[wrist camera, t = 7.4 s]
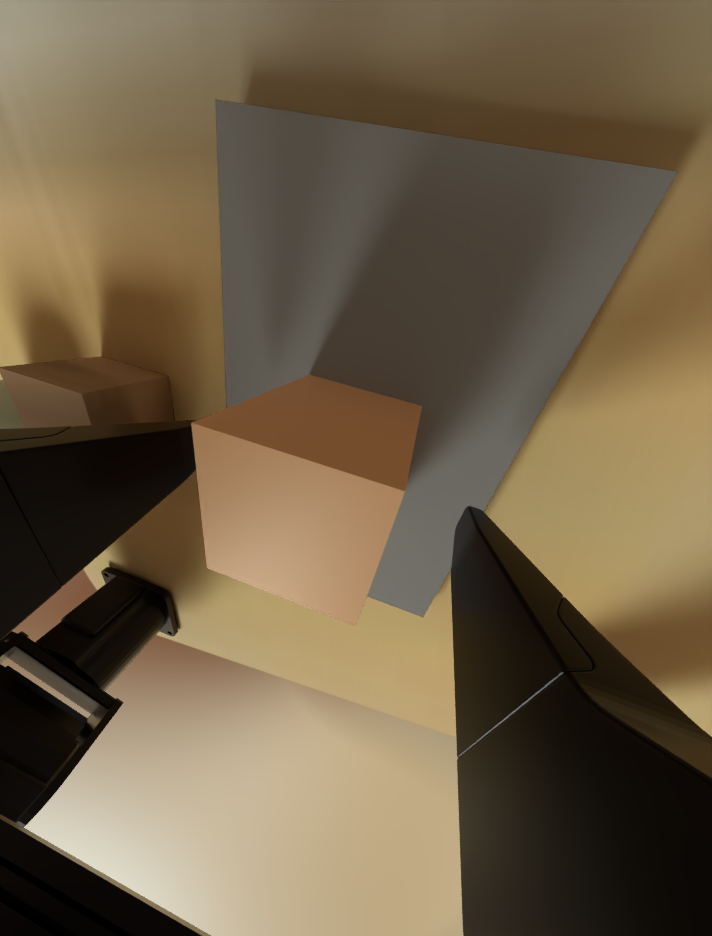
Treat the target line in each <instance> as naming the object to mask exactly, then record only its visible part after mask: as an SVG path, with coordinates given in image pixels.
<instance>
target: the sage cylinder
mask: <svg viewBox="0 0 712 936" xmlns="http://www.w3.org/2000/svg"><path fill="white" fill-rule="evenodd" d="M9 428H25V427H24V425H23V422H22V420H21V418H20V416H19V413H18V411H17V409H16V407H15V404H14V402H13V400H12V398H11V395H10V393H9V391H8V389H7V386H6V384H5V382H4V380H0V429H9Z"/></svg>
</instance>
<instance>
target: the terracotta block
mask: <svg viewBox="0 0 712 936" xmlns="http://www.w3.org/2000/svg"><path fill="white" fill-rule="evenodd" d="M421 409H422V406H420V405H417V404H413V403H409V402H406V401H402V400H399V399H395V398H392V397H388V396H384V395H381V394H377V393H374V392H370V391H366V390H363V389H359V388H356V387H352V386H349V385H345V384H341V383H338V382H334V381H331V380H327V379H323V378H320V377H316V376H313V375H307V376H304V377H302V378H299V379H297V380H295V381H292V382H290V383H287V384H285V385H282V386H280V387H277V388H275V389H272V390H270V391H268V392H265V393H263V394H260V395H258V396H255V397H253V398H250V399H248V400H246V401H243V402H241V403H238V404H236V405H233V406H231V407H228V408H226V409H224V410H221V411H219V412H216V413H214V414H211V415H209V416H206V417H204V418H202V419H199V420H197V421H194V422H192V423H191V426H192V435H193V444H194V453H195V463H196V472H197V481H198V490H199V499H200V509H201V518H202V527H203V536H204V546H205V555H206V564H207V568H208V569H211V570H213V571H216V572H218V573H221V574H223V575H226V576H228V577H231V578H233V579H236V580H239V581H241V582H244V583H246V584H249V585H251V586H254V587H256V588H259V589H261V590H264V591H267V592H269V593H272V594H274V595H277V596H279V597H282V598H284V599H287V600H289V601H292V602H295V603H297V604H300V605H302V606H305V607H307V608H310V609H312V610H315V611H317V612H320V613H323V614H325V615H328V616H330V617H333V618H335V619H338V620H340V621H343V622H345V623H348V624H351V625H353V626H356V625H357V622H358V620H359V617H360V614H361V611H362V609H363V606H364V603H365V600H366V598H367V595H368V592H369V589H370V587H371V584H372V581H373V578H374V576H375V573H376V570H377V567H378V565H379V562H380V559H381V556H382V554H383V551H384V548H385V545H386V543H387V540H388V537H389V534H390V532H391V529H392V526H393V523H394V521H395V518H396V515H397V512H398V510H399V507H400V504H401V501H402V499H403V496H404V493H405V490H406V485H407V480H408V475H409V469H410V464H411V459H412V454H413V449H414V444H415V439H416V434H417V429H418V424H419V419H420V414H421Z"/></svg>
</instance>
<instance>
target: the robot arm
mask: <svg viewBox="0 0 712 936" xmlns="http://www.w3.org/2000/svg"><path fill="white" fill-rule="evenodd" d="M194 421H197V420H190V421H169V422H148V423H127V424H106V425H85V426H73V427H71V426H64V427H40V428H9V429H0V936H211V935H209V934H207V933H205V932H204V931H202V930H200V929H198V928H197V927H195V926H193V925H191V924H190V923H188V922H186V921H185V920H183V919H181V918H179V917H178V916H176V915H174V914H172V913H171V912H169V911H167V910H166V909H164V908H162V907H160V906H159V905H157V904H155V903H153V902H152V901H150V900H148V899H146V898H145V897H143V896H141V895H139V894H138V893H136V892H134V891H132V890H131V889H129V888H127V887H126V886H124V885H122V884H120V883H119V882H117V881H115V880H114V879H112V878H110V877H108V876H107V875H105V874H103V873H101V872H100V871H98V870H96V869H94V868H93V867H91V866H89V865H88V864H86V863H84V862H82V861H81V860H79V859H77V858H75V857H74V856H72V855H70V854H68V853H67V852H65V851H63V850H61V849H60V848H58V847H56V846H55V845H53V844H51V843H49V842H48V841H46V840H44V839H42V838H41V837H39V836H37V835H35V834H34V833H32V832H30V831H29V830H27V829H25V828H23V827H24V826H26V824H28V822H29V821H30V820H31V819H32V818H33V817H34V816H35V815H36V814H37V813H38V812H39V811H40V810H41V809H42V807H43V806H44V805H45V804H46V803H47V801H48V800H49V799H50V798H51V797H52V796H53V794H54V793H55V792H56V791H57V790H58V788H59V787H60V786H61V785H62V784H63V782H64V781H65V780H66V778H67V777H68V776H69V774H70V773H71V772H72V770H73V769H74V768H75V766H76V765H77V764H78V762H79V761H80V760H81V758H82V757H83V756H84V754H85V753H86V752H87V750H88V749H89V748H90V747H91V745H92V744H93V743H94V741H95V740H96V739H97V737H98V736H99V734H100V733H101V732H102V731H103V729H104V728H105V726H106V725H107V724H108V723H109V721H110V720H111V719H112V717H113V716H114V715H115V713H116V712H117V711H118V709H119V708H120V706H121V705H122V704H123V702H122V701H121V700H119V699H118V698H117V699H115V698H113V697H112V696H110V695H109V694H107V693H106V692H105V691H106V689H107V688H108V687H109V686H110V685H111V684H112V683H113V682H114V680H115V679H116V678H117V677H118V676H119V675H120V674H121V673H122V672H123V671H124V670H125V668H126V667H127V666H128V665H129V664H130V663H131V662H132V661H133V659H134V658H135V657H136V656H137V655H138V654H139V653H140V652H141V651H142V649H143V648H144V647H145V646H146V645H147V644H148V643H149V642H150V641H151V640H152V638H153V637H154V636H155V635H156V634H157V633H158V632H159V631H161V632H163V633H165V634H167V635H170V636H175V634H176V633H177V632H178V630H177V625H176V621H175V616H174V612H173V607H172V603H171V599H170V595H169V594H168V593H167V592H166V591H165V590H162V589H160V588H157V587H155V586H153V585H150V584H148V583H145V582H143V581H141V580H138V579H136V578H133V577H131V576H128V575H126V574H124V573H121V572H119V571H116V570H114V569H112V568H109V567H106V568H105V569H104V570H102V571H101V573H102V575H103V578H104V580H105V583H106V584H105V585H104V586H102V587H101V588H100V589H99V590H97V591H96V592H95V593H93V594H92V595H91V596H90V597H88V598H87V599H86V600H85V601H83V602H82V603H81V604H80V605H78V606H77V607H76V608H74V609H73V610H72V611H71V612H69V613H68V614H67V615H66V616H65V617H63V618H62V620H61V622H60V623H59V624H58V625H56V626H55V627H54V628H52V629H51V630H50V631H49V632H47V633H46V634H45V635H44V636H42V637H41V638H40V639H39V640H37V641H36V642H33V641H32V640H30V639H29V638H28V635H27V634H25V633H24V632H20V633H19V634H18V633H15V632H12V630H13V629H14V628H16V627H17V626H18V625H19V624H20V623H21V622H22V621H24V620H25V619H26V618H27V617H28V616H29V615H31V614H32V613H33V612H34V611H35V610H36V609H37V608H39V607H40V606H41V605H42V604H43V603H44V602H46V601H47V600H48V599H49V598H50V597H51V596H53V595H54V594H55V593H56V592H57V591H58V590H59V589H61V587H62V586H63V585H65V584H66V583H67V582H68V581H69V580H71V579H72V578H73V577H74V576H75V575H76V574H78V573H79V572H80V571H81V570H82V569H83V568H85V567H86V566H87V565H88V564H89V563H90V562H92V561H93V560H94V559H95V558H96V557H97V556H98V555H100V554H101V553H102V552H103V551H104V550H105V549H107V548H108V547H109V546H110V545H111V544H112V543H114V542H115V541H116V540H117V539H118V538H119V537H120V536H122V535H123V534H124V533H125V532H126V531H127V530H129V529H130V528H131V527H132V526H133V525H134V524H136V523H137V522H138V521H139V520H140V519H141V518H142V517H144V516H145V515H146V514H147V513H148V512H149V511H151V510H152V509H153V508H154V507H155V506H156V505H158V504H159V503H160V502H161V501H162V500H163V499H165V498H166V497H167V496H168V495H169V494H170V493H171V492H173V491H174V490H175V489H176V488H177V487H178V486H180V485H181V484H182V483H183V482H184V481H185V480H186V479H187V478H188V477H189V476H190V475H191V474H192V473H193V472H194V471H195V470H196V463H195V453H194V444H193V435H192V426H191V423H192V422H194ZM451 593H452V622H453V650H454V679H455V707H456V736H457V757H458V759H457V769H458V800H459V828H460V857H461V886H462V914H463V935H464V936H712V737H711V736H710V735H709V734H707V733H706V732H705V731H704V730H702V729H701V728H700V727H699V726H698V725H697V724H696V723H694V722H693V721H692V720H691V719H690V718H689V717H688V716H687V715H686V714H685V713H684V712H682V711H681V710H680V709H679V708H678V707H677V706H676V705H675V704H674V703H673V702H672V701H671V700H670V699H669V698H668V697H667V696H666V695H664V694H663V693H662V692H661V691H660V690H659V689H658V688H657V687H656V686H655V685H654V684H653V683H652V682H651V681H650V680H649V679H648V678H647V677H645V676H644V675H643V674H642V673H641V672H640V671H639V670H638V669H637V668H636V667H635V666H634V665H633V664H632V663H631V662H630V661H629V660H628V659H626V658H625V657H624V656H623V655H622V654H621V653H620V652H619V651H618V650H617V649H616V648H615V647H614V646H613V645H612V644H611V643H610V642H609V641H608V640H607V639H606V638H605V637H604V636H603V635H601V634H600V633H599V632H598V631H597V630H596V629H595V628H594V627H593V626H592V625H591V624H590V623H589V622H588V621H587V619H586V618H585V617H584V616H583V615H582V614H581V613H580V612H579V611H578V610H577V609H576V608H575V607H574V606H573V605H572V604H571V603H570V602H569V601H568V600H567V599H566V598H565V597H563V595H562V594H561V593H560V592H559V590H558V589H557V588H556V587H555V586H554V585H553V584H552V583H551V582H550V581H549V580H548V579H547V578H546V577H545V576H544V575H543V574H542V573H541V572H540V571H539V570H538V568H537V567H536V566H535V565H534V564H533V563H532V562H531V561H530V560H529V559H528V558H527V557H526V556H525V555H524V554H523V553H522V552H521V551H520V550H519V549H518V548H517V546H516V545H515V544H514V543H513V542H512V541H511V540H510V539H509V538H508V537H507V536H506V535H505V534H504V533H503V532H502V531H501V530H500V529H499V528H498V527H497V526H496V524H495V523H494V522H493V521H492V520H491V519H490V518H489V517H488V516H487V515H486V514H485V513H484V512H483V511H482V510H481V509H478V508H475V507H472V506H467V507H466V508H465V510H464V512H463V514H462V516H461V518H460V520H459V521H458V523H457V525H456V528H455V534H454V545H453V555H452V566H451ZM562 597H563V598H562ZM7 658H9V659H11V660H12V661H13V662H15V663H16V664H18V665H19V666H21V667H23V668H24V669H25V670H27V671H28V672H30V673H31V674H33V675H34V676H36V677H37V678H39V679H40V680H42V681H43V682H45V683H46V684H48V685H49V686H51V687H52V688H54V689H55V690H56V691H58V692H59V693H61V694H62V695H64V696H65V697H67V698H68V699H70V700H71V701H73V702H74V703H76V704H77V705H79V706H80V707H82V708H83V709H85V710H86V711H88V712H89V713H91V715H90V716H89V717H88V718H86V717H84V716H83V715H81V714H80V713H78V712H77V711H75V710H74V709H72V708H71V707H69V706H68V705H66V704H65V703H63V702H62V701H60V700H59V699H57V698H56V697H54V696H53V695H51V694H50V693H48V692H47V691H45V690H43V689H42V688H41V687H39V686H38V685H36V684H35V683H33V682H32V681H30V680H29V679H27V678H26V677H24V676H23V675H21V674H20V673H18V672H17V671H15V670H14V669H12V668H11V667H9V666H7V667H4V666H3V665H1V663H2V662H3V661H4V660H6V659H7Z"/></svg>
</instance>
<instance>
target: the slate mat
mask: <svg viewBox="0 0 712 936" xmlns="http://www.w3.org/2000/svg"><path fill="white" fill-rule="evenodd" d="M216 127H217V155H218V183H219V212H220V240H221V268H222V296H223V324H224V352H225V380H226V408H228V407H231V406H233V405H236V404H238V403H241V402H243V401H246V400H248V399H250V398H253V397H255V396H258V395H260V394H263V393H265V392H268V391H270V390H272V389H275V388H277V387H280V386H282V385H285V384H287V383H290V382H292V381H295V380H297V379H299V378H302V377H304V376H307V375H313V376H316V377H320V378H323V379H327V380H331V381H334V382H338V383H341V384H345V385H349V386H352V387H356V388H359V389H363V390H366V391H370V392H374V393H377V394H381V395H384V396H388V397H392V398H395V399H399V400H402V401H406V402H409V403H413V404H417V405H420V406H422V409H421V414H420V419H419V424H418V429H417V434H416V439H415V444H414V449H413V454H412V459H411V464H410V469H409V475H408V480H407V485H406V490H405V493H404V496H403V499H402V501H401V504H400V507H399V510H398V512H397V515H396V518H395V521H394V523H393V526H392V529H391V532H390V534H389V537H388V540H387V543H386V545H385V548H384V551H383V554H382V556H381V559H380V562H379V565H378V567H377V570H376V573H375V576H374V578H373V581H372V584H371V587H370V589H369V592H368V595H367V596H368V597H371V598H373V599H376V600H378V601H381V602H384V603H386V604H389V605H392V606H394V607H397V608H400V609H402V610H405V611H408V612H410V613H413V614H416V615H418V616H421V617H424V615H425V613H426V611H427V610H428V608H429V606H430V604H431V603H432V601H433V599H434V597H435V596H436V594H437V592H438V590H439V589H440V587H441V585H442V583H443V582H444V580H445V578H446V576H447V575H448V573H449V571H450V569H451V566H452V555H453V545H454V534H455V528H456V525H457V523H458V521H459V520H460V518H461V516H462V514H463V512H464V510H465V508H466V507H467V506H472V507H475V508H478V509H481V510H482V511H483V512H484V510H485V508H486V506H487V505H488V503H489V501H490V499H491V498H492V496H493V494H494V492H495V491H496V489H497V487H498V485H499V484H500V482H501V480H502V478H503V477H504V475H505V473H506V472H507V470H508V468H509V466H510V465H511V463H512V461H513V459H514V458H515V456H516V454H517V452H518V451H519V449H520V447H521V445H522V444H523V442H524V440H525V438H526V437H527V435H528V433H529V431H530V430H531V428H532V426H533V424H534V423H535V421H536V419H537V417H538V416H539V414H540V412H541V410H542V409H543V407H544V405H545V403H546V402H547V400H548V398H549V396H550V395H551V393H552V391H553V389H554V388H555V386H556V384H557V382H558V381H559V379H560V377H561V375H562V374H563V372H564V370H565V368H566V367H567V365H568V363H569V361H570V360H571V358H572V356H573V354H574V353H575V351H576V349H577V347H578V346H579V344H580V342H581V340H582V339H583V337H584V335H585V333H586V332H587V330H588V328H589V326H590V325H591V323H592V321H593V319H594V318H595V316H596V314H597V312H598V311H599V309H600V307H601V305H602V304H603V302H604V300H605V298H606V297H607V295H608V293H609V291H610V290H611V288H612V286H613V284H614V283H615V281H616V279H617V278H618V276H619V274H620V272H621V271H622V269H623V267H624V265H625V264H626V262H627V260H628V258H629V257H630V255H631V253H632V251H633V250H634V248H635V246H636V244H637V243H638V241H639V239H640V237H641V236H642V234H643V232H644V230H645V229H646V227H647V225H648V223H649V222H650V220H651V218H652V216H653V215H654V213H655V211H656V209H657V208H658V206H659V204H660V202H661V201H662V199H663V197H664V195H665V194H666V192H667V190H668V188H669V187H670V185H671V183H672V181H673V180H674V178H675V176H676V174H677V173H678V172H677V171H671V170H664V169H658V168H651V167H645V166H639V165H632V164H626V163H619V162H613V161H607V160H600V159H594V158H587V157H581V156H575V155H568V154H562V153H555V152H549V151H543V150H536V149H530V148H523V147H517V146H511V145H504V144H498V143H491V142H485V141H479V140H472V139H466V138H459V137H453V136H447V135H440V134H434V133H427V132H421V131H415V130H408V129H402V128H395V127H389V126H383V125H376V124H370V123H363V122H357V121H350V120H344V119H338V118H331V117H325V116H318V115H312V114H306V113H299V112H293V111H286V110H280V109H274V108H267V107H261V106H254V105H248V104H242V103H235V102H229V101H222V100H216Z"/></svg>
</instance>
